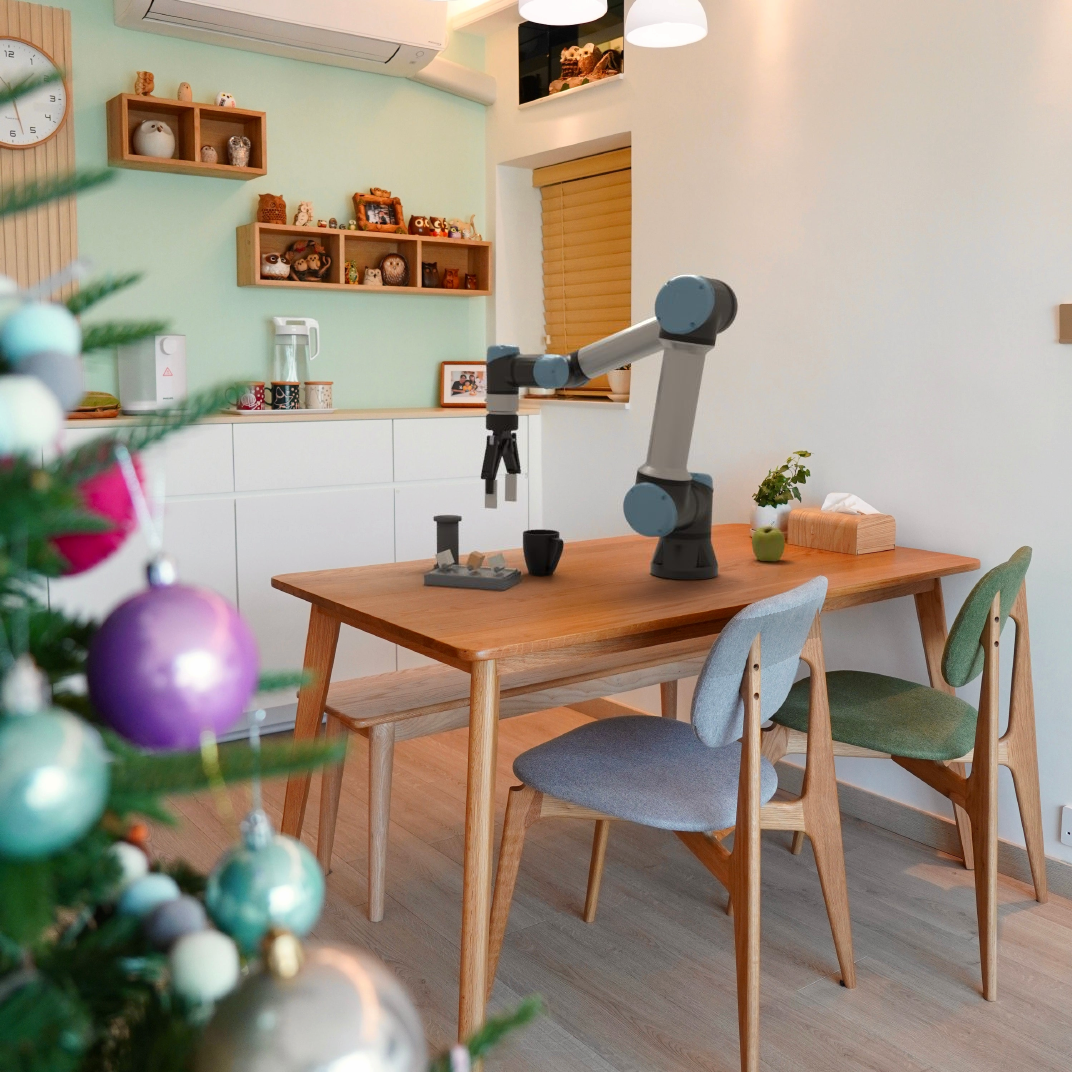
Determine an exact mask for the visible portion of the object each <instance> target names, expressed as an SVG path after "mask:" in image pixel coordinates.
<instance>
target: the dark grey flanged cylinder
mask: <svg viewBox="0 0 1072 1072" xmlns="http://www.w3.org/2000/svg"><path fill="white" fill-rule="evenodd" d="M433 521H434V522H436V554H438V553H441V552H443V551H446V550H449V549H450V551H451V554H452V557H453V559H454V563H453V564H454V565H462V564H461V563H460V557H459V556H460V553H459V552H460V549H459V548H460V546H459V545H460V543H459V542H460V539H459V537H460V534H459V530H460V529H459V527H460V526H459V525H460V523H459V522H462V521H463V518H462V516H461V515H458V514H457V515H454V514H440V515H439V514H438V515H434V516H433ZM438 568H440V567H439V565H438V562H437V561H436V564H433V569H434V570H436V569H438Z"/></svg>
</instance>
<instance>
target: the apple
mask: <svg viewBox="0 0 1072 1072" xmlns="http://www.w3.org/2000/svg"><path fill="white" fill-rule="evenodd" d="M774 523H775V521H773V522H772V523H771V525H766V526H761V527H759V528H757V529H756V530H755V531H754V532H753V534H752V538H751V546H752V551H753V553H754V556H755V558H756V559H757V560H759V561H761V562H777V561H779V560H780V559H781V558H782V556H783V555H784V551H785V547H786V539H785V538H786V537H785V536H784V533H783V532H782V531H781V530H780V529H779V528H778V527H775V526H773V524H774Z"/></svg>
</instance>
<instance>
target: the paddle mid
mask: <svg viewBox="0 0 1072 1072" xmlns="http://www.w3.org/2000/svg"><path fill="white" fill-rule="evenodd" d="M485 557H486V555H485V554H483V553H482V552H479V551H476V550H475V551H472V552H470V553H469V556H468V559H467V561H466V564H465V565H466V566H468V567H467V569H468V570H469V571H472V570H477V569H479V568H481V566H482V565H483V563H484V560H485Z"/></svg>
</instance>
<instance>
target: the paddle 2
mask: <svg viewBox="0 0 1072 1072" xmlns="http://www.w3.org/2000/svg"><path fill="white" fill-rule="evenodd" d="M486 559H487V561H488V565H489V567H491V570H492V571H494V572H496V573H498V572H500V571H502V570H504V569H505V568H506V567H507V565H508V564H507V563H506V560H505V558H504V555H503V552H499V553H495V554H493V555H491V556H489V557H487V558H486Z"/></svg>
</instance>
